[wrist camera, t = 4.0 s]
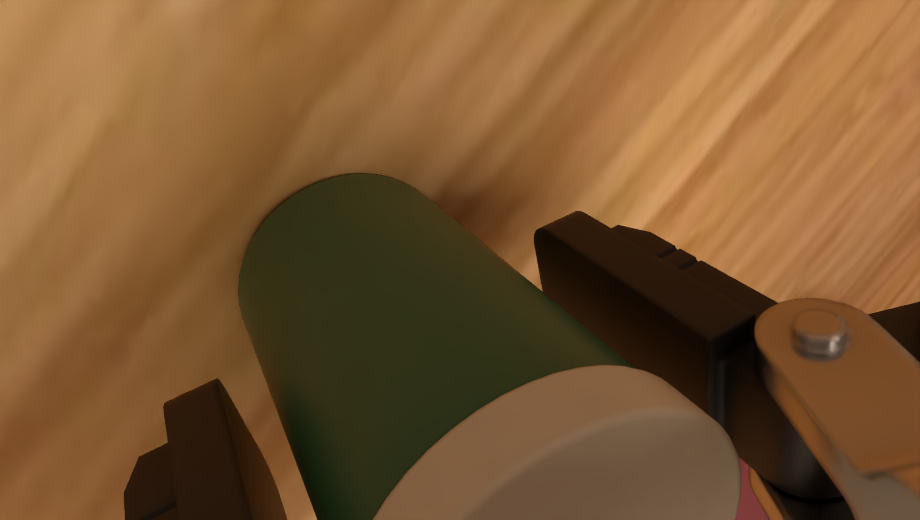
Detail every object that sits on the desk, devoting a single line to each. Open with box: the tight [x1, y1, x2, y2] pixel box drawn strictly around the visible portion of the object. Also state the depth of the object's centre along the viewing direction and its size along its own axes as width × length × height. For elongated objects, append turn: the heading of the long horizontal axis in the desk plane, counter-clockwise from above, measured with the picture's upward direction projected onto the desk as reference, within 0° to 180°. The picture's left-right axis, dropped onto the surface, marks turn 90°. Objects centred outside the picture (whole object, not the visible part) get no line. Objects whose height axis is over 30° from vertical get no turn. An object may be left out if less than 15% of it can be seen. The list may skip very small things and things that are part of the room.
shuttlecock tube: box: [238, 174, 742, 520], centre depth 9 cm, size 4×4×7 cm
